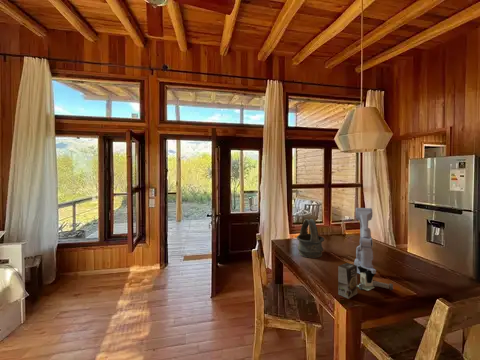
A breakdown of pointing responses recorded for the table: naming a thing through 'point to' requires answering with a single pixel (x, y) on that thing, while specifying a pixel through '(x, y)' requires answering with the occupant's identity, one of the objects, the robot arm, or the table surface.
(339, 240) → the table surface
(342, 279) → the coffee box
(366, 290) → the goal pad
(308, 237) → the basket with handle
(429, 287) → the table surface
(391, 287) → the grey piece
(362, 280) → the u block
